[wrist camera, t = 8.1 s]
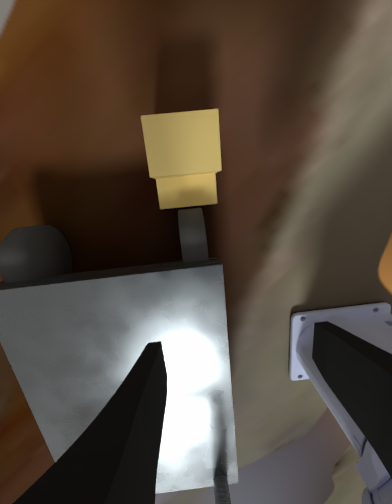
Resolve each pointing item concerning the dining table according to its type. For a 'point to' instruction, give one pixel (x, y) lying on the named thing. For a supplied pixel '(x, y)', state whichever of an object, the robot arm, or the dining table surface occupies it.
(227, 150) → the dining table surface
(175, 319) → the trolley
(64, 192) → the dining table surface
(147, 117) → the yellow cube-like block
